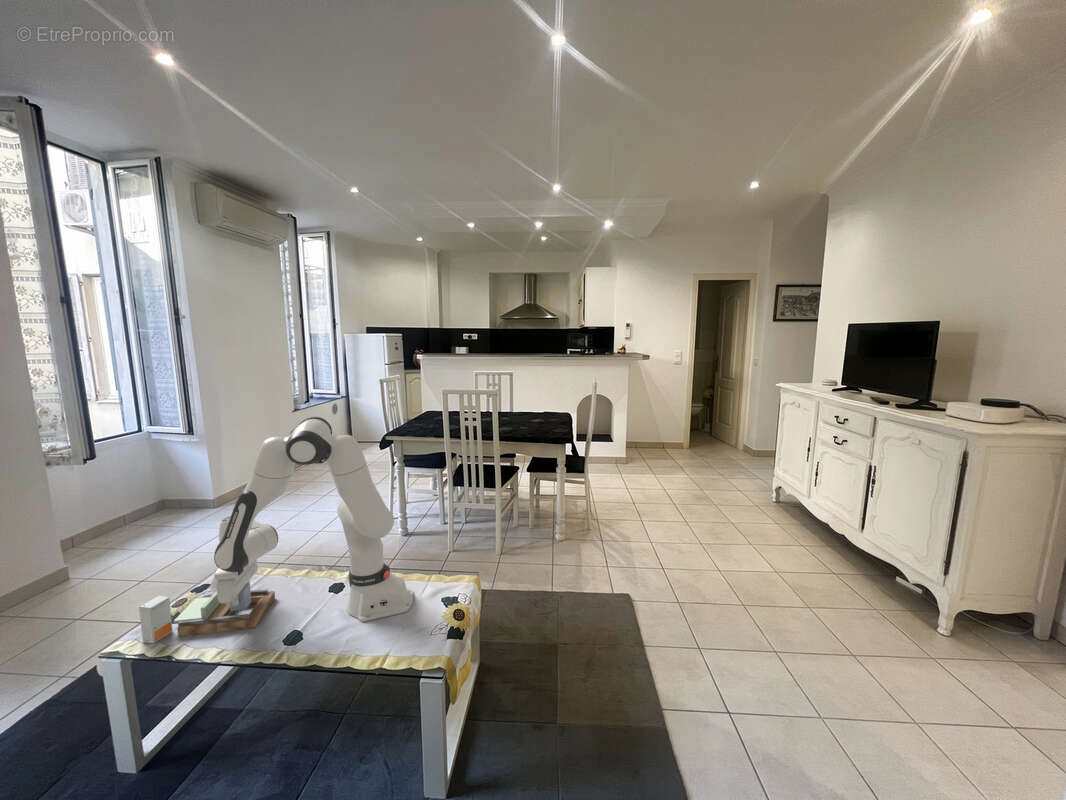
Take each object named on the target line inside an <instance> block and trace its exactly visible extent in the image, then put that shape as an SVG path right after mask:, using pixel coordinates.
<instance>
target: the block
mask: <svg viewBox="0 0 1066 800" xmlns="http://www.w3.org/2000/svg"><path fill="white" fill-rule="evenodd" d="M251 591H252V590H251V583H247V584H246V585H245V587H244V588H243V589H242V590H241V592H240V593H239V596H238V598H240V603H239V605H238V606H233V605H232V602H231V603H230V611H234V612H238V611H245V610H247V608H249V607H250V606H249V604H250V603H251Z"/></svg>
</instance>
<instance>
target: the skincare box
mask: <svg viewBox="0 0 1066 800" xmlns="http://www.w3.org/2000/svg"><path fill="white" fill-rule="evenodd" d="M138 608H139V609H138V610H139V617H140V619H139V620H140V628H141V638H142V642H143V643H148V644H152V645H153V644H155V643H156V642H158V641H159V640H161V639H163V638H164V637H166V636H167V635H169V634H171V633H173V622H172V612H171V601H170V596H163V595H158V596H156V597H154V598H152V599H150V600H149V601H146V602H145V603H144V604H142V605H140V606H139V607H138Z"/></svg>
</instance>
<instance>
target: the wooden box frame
mask: <svg viewBox="0 0 1066 800" xmlns="http://www.w3.org/2000/svg"><path fill="white" fill-rule="evenodd" d="M250 591H251V603H250V604H249V606H248V607H251V606H254V607H253V608H252V609H251V611H250V612H249V613H245V614H235V615H233V613H234V612H235V611H230V603H223V604H221V603H220V604H219V605H218V606H217V608H216V609H215V610H214V611H213V612H212V613H211V615H210V616H209V617H208V618H205V619H195V620H186V621H180V622H179V623H177V637H185V636H194V635H201V634H202V635H203V634H213V633H222V632H229V631H230V632H231V631H238V630H239V631H240V630H246V629H255V628H257V627H258V625H259V623H260V622H261V621H262V619H263V617H264V616H265V614H266V613H267V612H268V610H269V608H270V607H271V605H272V604H273V603H274V601H275V599H276V596H275V595H276V594H275V593H276V592H275V590H272V591H271V590H270V591H269V589H268V588H267V589H266V588H265V589H256V590H250ZM213 594H214V593H212V594H205V595H203V596H202V598H205V597H211V596H212V595H213ZM230 615H231V616H230Z"/></svg>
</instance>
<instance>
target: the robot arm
mask: <svg viewBox="0 0 1066 800" xmlns="http://www.w3.org/2000/svg"><path fill="white" fill-rule="evenodd" d="M325 462H326V464H327V465H328V468H329V470H330V474H331V477H332V479H333V482H334V485H335V487H336V488H335V489H336V491H337V493H338V496H339V497H340V498H341V501H340V502H339V503H338V505H337V509H336V510H337V511H336V513H337V516H338V518H339V520H340V522H341V524H342V528H343V532H344V536H345V540H346V543H347V547H348V553H349V555H348V556H349V557H348V558H349V571H348V585H349V588H350V589H349V597H348V603H347V607H346V612H347V613H348V615H350V616H352V617H355V618H357V619H358V621H360V622H368V621H373V620H377V619H381V618H386V617H390V616H394V615H399V614H404V613H406V612H408V611H409V610H410V609H411V607H412V605H413V603H414V592H413V590H412V588H410V587H407V585H406V581H405V580H404V579H403V578H402V577H400V576H398V575H396V574H393V573H392V572H391V569H390V568H391V567H390V563H387V564H386V563H385V561H384V544H383V541H382V538H384V537H387V535H389V533H390V532H391V531H392V530H393V527H394V525H395V517H394V515H393V513H392V512H391V510H389V508H388V507H387V505H386V504H385V502H384V500H383V498H382V495H381V494H380V492H379V491H378V489H377V487H376V485H375V483H374V481H373V479H372V476H371V473H370V470H369V468H368V467H369V466H368V463H367V460H366V458H365V455H364V452H363V451H362V448H361V446H360V444H359V443H358V441H357V439H356V438H355V437H354V436H352V435H350V434H340V435H333V430H332V426H331V424H330V422H329V421H327V420H326V419H325V418H323V417H320V416H309V417H307V418H306V419H304V420H301V422H299V424H297V425H296V426H295V427H294V428H293V429H292V430H291V431H290V435H289V436H272V437H269V438H267V439H264V441H263V442H262V443H261V445H260V448H259V450H258V452H257V455H256V457H255V461H254V464H253V468H252V472H251V475H250V478H249V480H248V482H247V485H246V486H245V488H244V489H243V491H242V493H241V494H240V495H239V496H238V498H237V500H236V502H235V504H234V507H233V509H232V511H231V512H232V513H231V515H229V516H227V517H225V518H224V519H222V520H221V521H220V525H219V528H218V529H219V531H218V532H219V533H218V537H219V538H218V539H219V543H218V544H217V546H216V548H215V551H214V556H213V559H214V560H213V561H214V563H215V565H216V567H217V570H216V571H215V573H214V575H213V579H215V580H218V581H217V584H216V589H217V597H218V601H219V603H221V604H223V603H231V602H232V605H233V606H238V605H239V603H240V598H238V596H239V593H240V592H241V590H242V589H243V588H244V587H245V585H246V584H247V583H250V582H251V581H250V580H251V579H253V577H254V575H256V573H257V572H258V569H259V568H258V559H259V558H262V557H263V556H264V555H266V554H268V553H269V552H271V551H273V550H274V549H275V548H277V546H278V543H279V534H278V531H277V530H276V528H275V527H274V526H272V525H271V524H270V525H269V524H267V523H260V522H259V521H256V520H255V518H256V517H257V516H258V515H259V513H260V512H262V510H263V509H264V508H266V507H267V506H268V505H270V504H271V503H273V502H274V501H275V500H277V499H279V498H280V497H282V495H284V494H285V493H286V491H287V490H288V489H289V486H290V485H291V483H292V480H293V475H294V471H295V467H296V465H300V466H301V465H302V466H309V465H314V464H318V465H320V464H324V463H325ZM250 584H251V583H250Z"/></svg>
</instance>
